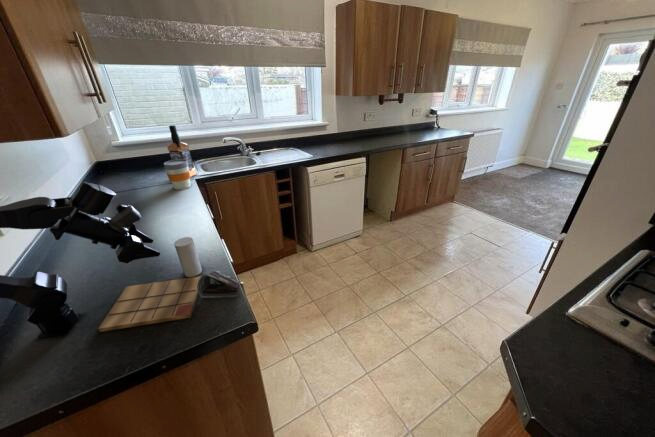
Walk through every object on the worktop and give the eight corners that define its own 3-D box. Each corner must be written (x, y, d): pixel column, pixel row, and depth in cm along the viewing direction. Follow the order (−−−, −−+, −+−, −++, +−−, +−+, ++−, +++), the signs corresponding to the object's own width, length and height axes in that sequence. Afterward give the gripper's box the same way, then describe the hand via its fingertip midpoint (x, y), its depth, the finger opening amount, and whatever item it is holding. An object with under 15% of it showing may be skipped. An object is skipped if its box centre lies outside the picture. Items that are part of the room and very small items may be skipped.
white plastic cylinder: (182, 278, 87) (171, 247, 81) (186, 268, 91) (176, 238, 86) (200, 275, 88) (190, 245, 82) (203, 265, 92) (194, 236, 87)
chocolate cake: (247, 281, 85) (218, 256, 83) (241, 291, 78) (209, 264, 76) (228, 301, 86) (198, 277, 85) (220, 313, 79) (188, 287, 78)
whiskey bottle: (174, 177, 176) (159, 126, 161) (184, 172, 184) (170, 124, 169) (188, 178, 174) (173, 127, 159) (197, 173, 182) (185, 124, 167)
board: (99, 332, 69) (97, 328, 68) (127, 289, 83) (126, 286, 82) (190, 317, 72) (189, 314, 72) (203, 278, 86) (202, 275, 86)
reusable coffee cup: (168, 186, 161) (160, 162, 154) (189, 181, 169) (183, 157, 162) (174, 192, 153) (166, 166, 146) (196, 186, 160) (190, 161, 153)
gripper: (115, 213, 62) (180, 236, 73) (107, 191, 75) (163, 214, 86) (87, 254, 61) (157, 271, 73) (84, 225, 74) (144, 243, 85)
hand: (156, 247), depth 79 cm, fingers open, 9 cm apart
